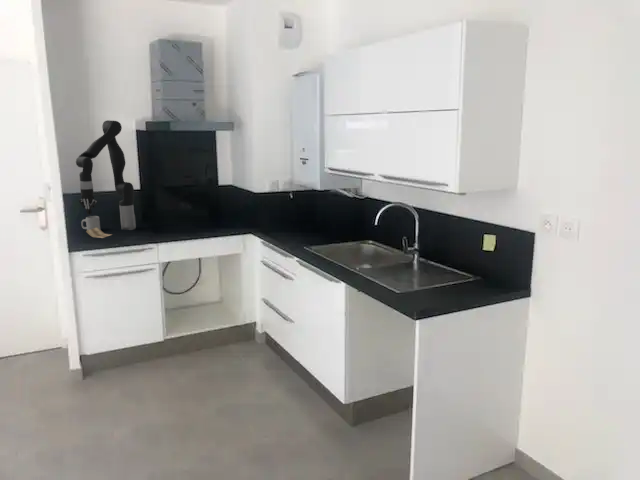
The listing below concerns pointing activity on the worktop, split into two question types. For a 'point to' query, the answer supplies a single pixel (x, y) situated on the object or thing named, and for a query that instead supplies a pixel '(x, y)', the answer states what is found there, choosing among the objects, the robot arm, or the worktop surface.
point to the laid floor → (104, 235)
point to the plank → (95, 232)
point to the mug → (91, 222)
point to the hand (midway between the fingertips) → (89, 214)
